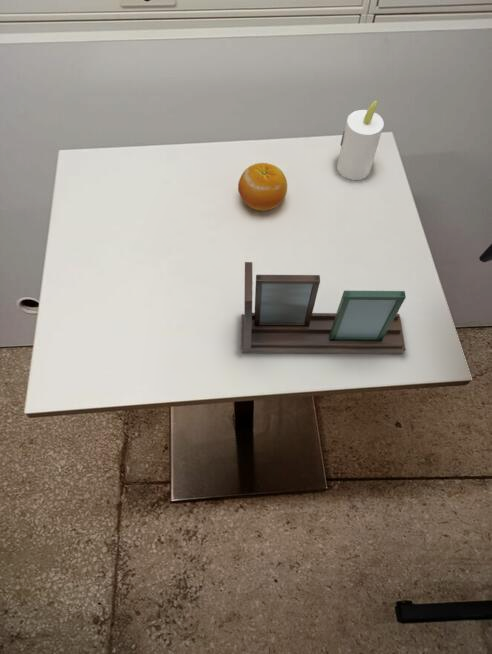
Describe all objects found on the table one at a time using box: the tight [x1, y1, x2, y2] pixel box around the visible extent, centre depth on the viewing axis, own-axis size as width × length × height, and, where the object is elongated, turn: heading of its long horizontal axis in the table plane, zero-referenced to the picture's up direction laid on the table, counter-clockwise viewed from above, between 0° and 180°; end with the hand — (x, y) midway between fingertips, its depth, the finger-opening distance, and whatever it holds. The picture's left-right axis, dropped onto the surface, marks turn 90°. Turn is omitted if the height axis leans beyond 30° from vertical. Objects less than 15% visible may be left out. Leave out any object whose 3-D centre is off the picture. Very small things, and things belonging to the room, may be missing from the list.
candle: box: [336, 99, 385, 181], centre depth 89 cm, size 6×6×15 cm
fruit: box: [237, 162, 288, 212], centre depth 89 cm, size 8×8×8 cm
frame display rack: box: [240, 261, 406, 355], centre depth 72 cm, size 25×6×16 cm, turn 90°
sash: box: [329, 290, 407, 341], centre depth 71 cm, size 8×1×13 cm, turn 90°
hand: (489, 291), depth 61 cm, fingers open, 9 cm apart
